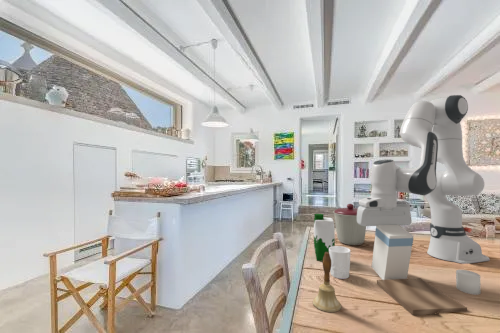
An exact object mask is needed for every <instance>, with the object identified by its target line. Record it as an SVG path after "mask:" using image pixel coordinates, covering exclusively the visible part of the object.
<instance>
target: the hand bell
mask: <svg viewBox="0 0 500 333" xmlns="http://www.w3.org/2000/svg"><path fill="white" fill-rule="evenodd" d="M322 268H323V273H324V274H323V283H321V284H320V285H319V286H318V293H317V294H316V297H314V299H313V300H312V304H313V306H314V307H315V308H316V309H317V310H320V311H322V312H326V313H335V312H336V313H337V312H339V311H340V310H341V309H342V304H341V302H340V301H339V300H338V298H337V296H336V290H335V287H334V285H332V284H330V280H331V279H330V275H331V273H330V270H331V258H330V254H329V252H325V254H324V257H323V261H322Z"/></svg>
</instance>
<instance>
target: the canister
mask: <svg viewBox="0 0 500 333" xmlns="http://www.w3.org/2000/svg"><path fill="white" fill-rule="evenodd" d="M357 210H358V208H356V207H355V206H354V205H353V203H348V204H347V205H346V207H339V208H336V209H335V210H333V211H332V213H333V216H334V225H335V233H336V237H337V240H338V242H339V243H341V244H344V245H349V246H359V245H362V244H364V242H365V239H366V233H367V226H361V225H359V224H358V223H357Z"/></svg>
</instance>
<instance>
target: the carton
mask: <svg viewBox="0 0 500 333" xmlns="http://www.w3.org/2000/svg"><path fill="white" fill-rule="evenodd" d="M374 236H375V237H374V244H373V250H372V258H371V259H372V262H371V268H372V269H373V271H374V272H375V273H376V274H377V275H378V276H379V278H380V280H388V279H408V276H409V269H410V263H411V255H412V251H413V250H412V249H413V244H414V235H413V234H412V233H411V232H410V231H408V230H406V229H405V228H404V227H402V225H376V226H375V232H374Z"/></svg>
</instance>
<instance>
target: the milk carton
mask: <svg viewBox="0 0 500 333" xmlns="http://www.w3.org/2000/svg"><path fill="white" fill-rule="evenodd" d="M313 218H314V219H313V247H314V254H315V257H316V261H319V262H323V257H324V254H325V252H329V247H331V246H336V244H335V243H336V237H335V236H336V234H335V233H336V228H335V220H333V219H334V218H332V217H326V216H325V217H324V213H314V217H313Z"/></svg>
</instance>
